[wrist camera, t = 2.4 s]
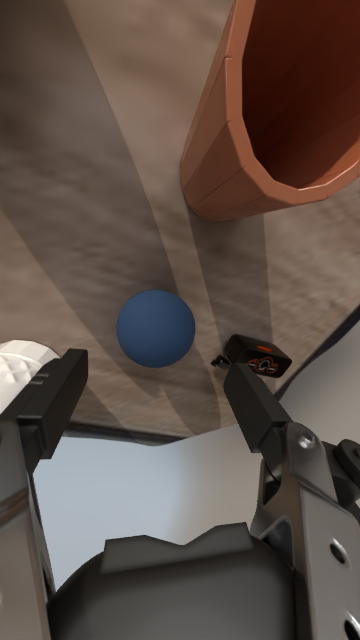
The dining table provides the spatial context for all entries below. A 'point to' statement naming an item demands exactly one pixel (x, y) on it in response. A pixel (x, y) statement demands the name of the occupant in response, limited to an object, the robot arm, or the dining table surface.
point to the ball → (155, 328)
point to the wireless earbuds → (254, 356)
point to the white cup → (20, 367)
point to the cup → (276, 110)
